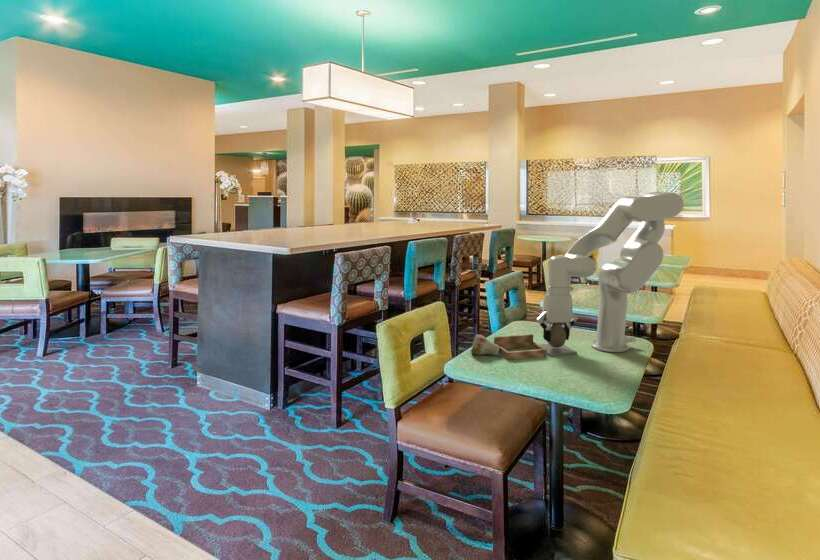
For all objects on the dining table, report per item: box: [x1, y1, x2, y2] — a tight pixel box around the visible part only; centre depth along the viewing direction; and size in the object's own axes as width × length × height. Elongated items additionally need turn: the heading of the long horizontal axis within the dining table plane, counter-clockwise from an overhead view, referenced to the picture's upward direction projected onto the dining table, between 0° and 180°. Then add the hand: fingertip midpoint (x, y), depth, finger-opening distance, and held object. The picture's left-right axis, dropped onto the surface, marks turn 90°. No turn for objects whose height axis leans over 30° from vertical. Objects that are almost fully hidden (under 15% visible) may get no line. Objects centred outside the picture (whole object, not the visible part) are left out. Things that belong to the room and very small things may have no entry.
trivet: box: [539, 343, 578, 357], centre depth 190 cm, size 11×11×1 cm
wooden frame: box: [493, 333, 548, 361], centre depth 186 cm, size 15×11×5 cm
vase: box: [546, 323, 567, 347], centre depth 189 cm, size 7×7×9 cm
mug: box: [470, 334, 499, 356], centre depth 185 cm, size 8×10×10 cm
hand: (556, 339), depth 189 cm, fingers closed on vase, 6 cm apart
